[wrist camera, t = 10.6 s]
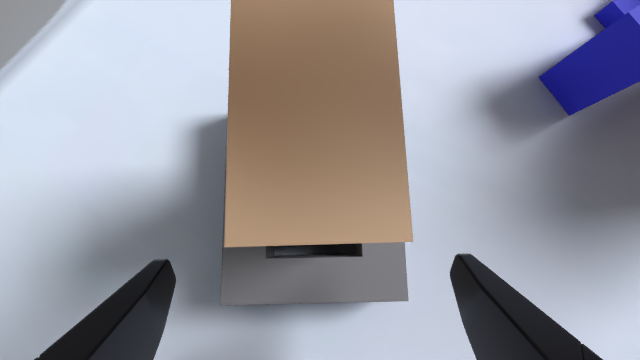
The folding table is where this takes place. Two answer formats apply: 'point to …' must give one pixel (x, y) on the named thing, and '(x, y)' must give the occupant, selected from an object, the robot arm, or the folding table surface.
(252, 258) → the gray block with hole
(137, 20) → the folding table surface
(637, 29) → the cable clip
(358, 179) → the slat
